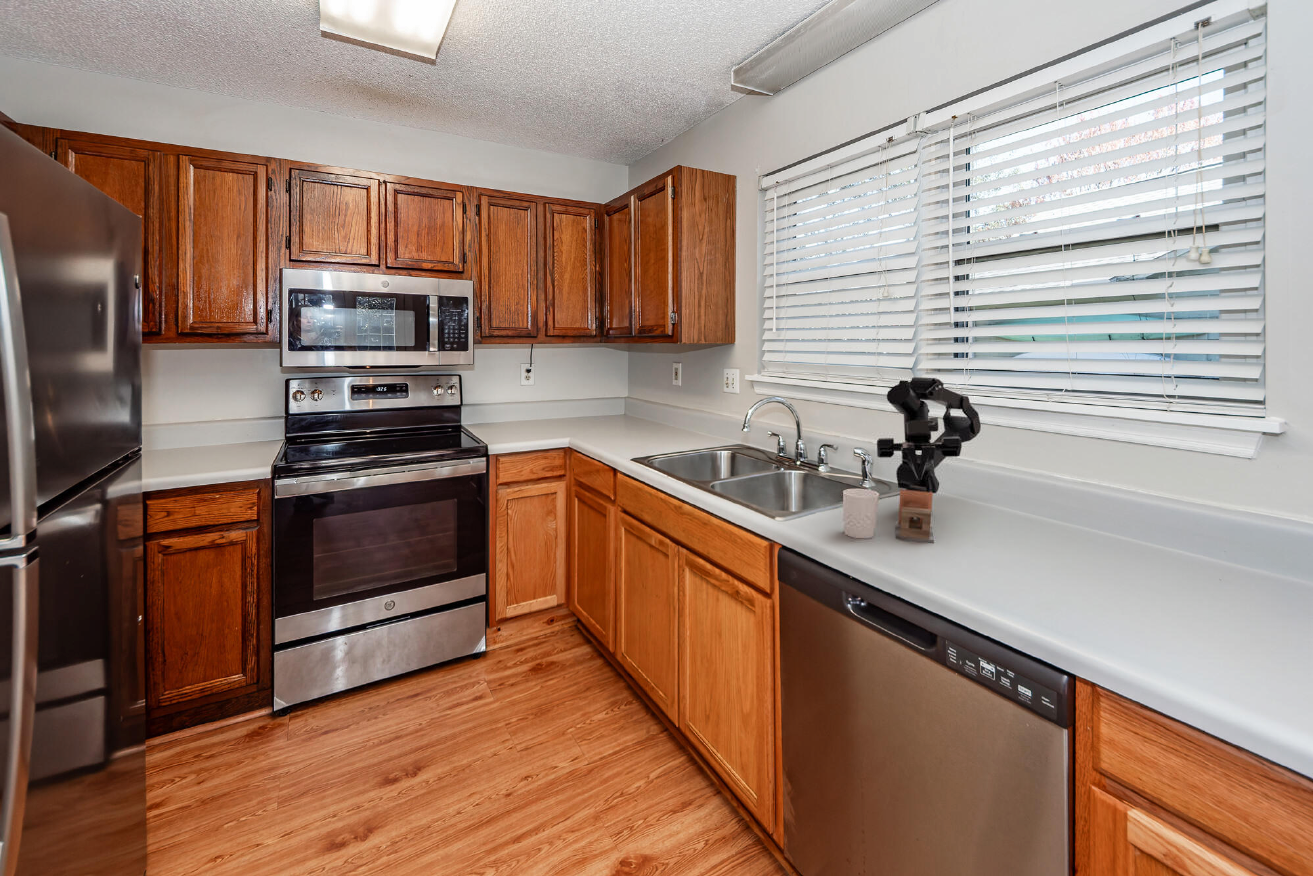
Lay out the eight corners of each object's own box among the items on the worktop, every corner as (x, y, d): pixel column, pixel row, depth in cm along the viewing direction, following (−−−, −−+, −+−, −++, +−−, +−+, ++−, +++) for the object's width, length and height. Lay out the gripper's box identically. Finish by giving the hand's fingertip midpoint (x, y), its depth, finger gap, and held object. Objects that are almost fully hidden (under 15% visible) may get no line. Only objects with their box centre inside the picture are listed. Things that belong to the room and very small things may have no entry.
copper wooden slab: (898, 524, 140) (900, 489, 139) (930, 527, 137) (932, 491, 136) (898, 530, 136) (900, 494, 134) (931, 533, 133) (933, 497, 132)
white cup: (870, 541, 131) (873, 498, 129) (836, 535, 135) (838, 493, 134) (881, 532, 137) (883, 491, 135) (847, 526, 141) (849, 487, 140)
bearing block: (895, 525, 142) (897, 499, 141) (931, 529, 139) (933, 502, 138) (895, 538, 133) (897, 510, 132) (934, 542, 130) (936, 514, 129)
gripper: (875, 407, 142) (877, 464, 135) (961, 403, 136) (967, 464, 129) (876, 429, 151) (878, 484, 145) (956, 427, 145) (962, 484, 138)
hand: (919, 478), depth 139 cm, fingers closed
